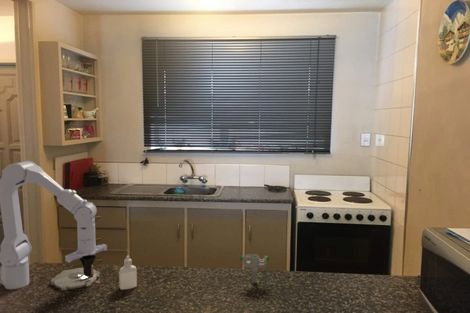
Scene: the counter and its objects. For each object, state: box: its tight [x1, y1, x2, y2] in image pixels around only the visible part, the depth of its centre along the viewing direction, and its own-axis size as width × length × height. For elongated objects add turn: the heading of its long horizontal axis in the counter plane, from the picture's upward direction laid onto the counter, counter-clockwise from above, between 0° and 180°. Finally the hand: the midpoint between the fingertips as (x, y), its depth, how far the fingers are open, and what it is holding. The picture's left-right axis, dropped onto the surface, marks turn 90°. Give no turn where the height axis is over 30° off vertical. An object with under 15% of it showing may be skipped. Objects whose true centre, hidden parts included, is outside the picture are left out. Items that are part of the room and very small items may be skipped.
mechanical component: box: [240, 253, 270, 284], centre depth 126 cm, size 3×10×10 cm, turn 89°
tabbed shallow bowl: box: [51, 264, 101, 291], centre depth 123 cm, size 14×16×6 cm
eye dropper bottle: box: [118, 255, 138, 290], centre depth 119 cm, size 4×6×12 cm
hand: (87, 275), depth 122 cm, fingers closed, pressing on tabbed shallow bowl
